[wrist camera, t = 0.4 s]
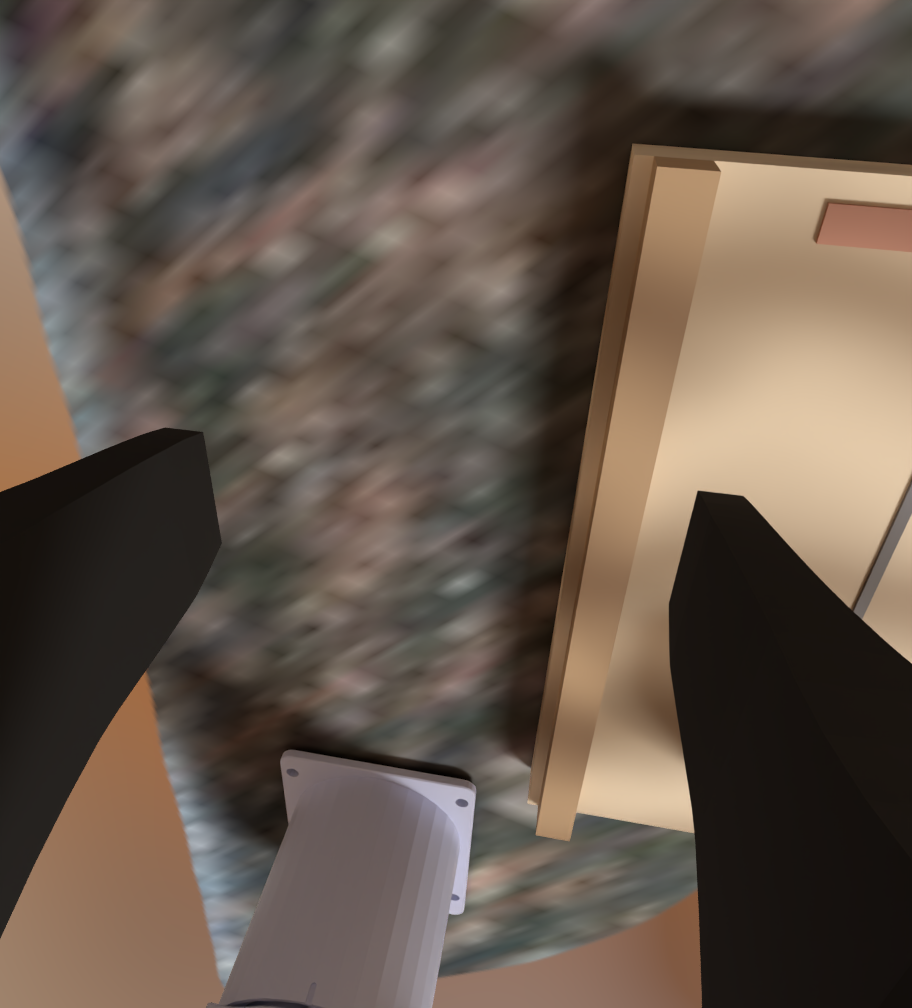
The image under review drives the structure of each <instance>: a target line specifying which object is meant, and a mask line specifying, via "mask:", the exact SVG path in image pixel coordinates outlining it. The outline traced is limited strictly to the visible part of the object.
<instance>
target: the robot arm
mask: <svg viewBox="0 0 912 1008" xmlns="http://www.w3.org/2000/svg"><path fill="white" fill-rule="evenodd" d="M221 544H222V542H221V536H220V530H219V524H218V518H217V512H216V506H215V500H214V494H213V488H212V482H211V476H210V470H209V464H208V458H207V453H206V447H205V441H204V435H203V432H197V431H189V430H180V429H172V428H162V429H159V430H155V431H152V432H149V433H146V434H143V435H140V436H137V437H135V438H132V439H129V440H127V441H124V442H122V443H119V444H117V445H114V446H112V447H109V448H107V449H104V450H102V451H100V452H97V453H95V454H93V455H90V456H88V457H85V458H83V459H81V460H78V461H76V462H74V463H71V464H69V465H66V466H64V467H62V468H59V469H57V470H54V471H52V472H50V473H47V474H45V475H43V476H40V477H38V478H36V479H33V480H30V481H28V482H25V483H23V484H20V485H17V486H15V487H12V488H10V489H7V490H4V491H2V492H0V938H1V936H2V933H3V931H4V929H5V927H6V925H7V923H8V920H9V918H10V916H11V914H12V912H13V910H14V907H15V905H16V903H17V901H18V899H19V897H20V894H21V892H22V890H23V888H24V886H25V884H26V881H27V879H28V877H29V875H30V873H31V871H32V868H33V866H34V864H35V862H36V860H37V858H38V856H39V854H40V852H41V850H42V848H43V846H44V844H45V842H46V840H47V838H48V836H49V834H50V832H51V830H52V828H53V826H54V824H55V822H56V821H57V818H58V817H59V814H60V813H61V811H62V809H63V807H64V805H65V802H66V801H67V798H68V797H69V795H70V793H71V791H72V789H73V788H74V786H75V784H76V782H77V780H78V778H79V776H80V775H81V773H82V771H83V769H84V767H85V765H86V764H87V762H88V760H89V758H90V756H91V754H92V752H93V751H94V749H95V747H96V745H97V743H98V742H99V740H100V738H101V737H102V735H103V733H104V732H105V730H106V729H107V727H108V725H109V724H110V722H111V721H112V719H113V717H114V716H115V714H116V713H117V711H118V710H119V708H120V707H121V705H122V704H123V702H124V701H125V700H126V698H127V697H128V695H129V694H130V692H131V691H132V690H133V688H134V687H135V685H136V684H137V682H138V681H139V679H140V678H141V677H142V675H143V674H144V672H145V671H146V669H147V668H148V666H149V665H150V664H151V662H152V661H153V659H154V658H155V656H156V655H157V653H158V652H159V651H160V649H161V648H162V646H163V645H164V643H165V642H166V640H167V639H168V638H169V636H170V635H171V633H172V632H173V630H174V629H175V627H176V626H177V624H178V623H179V621H180V620H181V618H182V617H183V615H184V614H185V612H186V611H187V610H188V608H189V606H190V605H191V603H192V602H193V600H194V599H195V597H196V596H197V594H198V592H199V590H200V588H201V586H202V584H203V582H204V580H205V578H206V576H207V574H208V572H209V570H210V568H211V565H212V563H213V561H214V559H215V557H216V554H217V552H218V550H219V548H220V546H221ZM669 657H670V671H671V678H672V685H673V691H674V698H675V705H676V711H677V718H678V724H679V730H680V737H681V743H682V750H683V756H684V762H685V769H686V775H687V781H688V788H689V794H690V800H691V807H692V815H693V824H694V833H695V844H696V863H697V883H698V901H699V902H698V903H699V927H700V955H701V984H702V1008H912V663H911V662H909V661H908V660H907V659H906V658H905V657H903V656H902V655H901V654H900V653H899V652H898V651H896V650H895V649H894V648H893V647H892V646H891V645H889V644H888V643H887V642H886V641H885V640H884V639H883V638H882V637H880V636H879V635H878V634H877V633H876V632H875V631H874V630H873V629H872V628H871V627H870V626H869V625H867V624H866V623H865V622H864V621H863V620H862V619H861V618H860V617H859V616H858V615H857V614H855V613H854V612H853V611H852V610H851V609H850V608H849V607H848V606H847V605H846V604H845V603H844V602H843V601H842V600H841V599H840V598H839V597H838V596H837V595H836V594H835V593H834V592H833V591H832V590H831V589H830V588H829V587H828V586H827V585H826V584H825V583H824V582H823V581H822V580H821V579H820V578H819V577H818V576H817V575H816V574H815V573H814V572H813V571H812V570H811V569H810V568H809V566H808V565H807V564H806V563H805V562H804V561H803V560H802V559H801V558H800V557H799V556H798V555H797V554H796V553H795V551H794V550H793V549H792V548H791V547H790V546H789V545H788V544H787V543H786V542H785V540H784V539H783V538H782V537H781V536H780V535H779V534H778V533H777V532H776V530H775V529H774V528H773V527H772V526H771V525H770V524H769V523H768V522H767V520H766V519H765V518H764V517H763V516H762V515H761V514H760V513H759V512H758V510H757V509H756V508H755V507H754V506H753V505H752V504H751V503H750V502H749V501H748V500H747V499H746V498H745V497H744V496H741V495H732V494H724V493H715V492H707V491H697V495H696V499H695V503H694V507H693V511H692V514H691V518H690V522H689V526H688V530H687V534H686V538H685V542H684V546H683V550H682V554H681V557H680V561H679V565H678V569H677V573H676V577H675V581H674V585H673V589H672V593H671V597H670V601H669ZM280 765H281V772H282V780H283V787H284V795H285V802H286V810H287V817H288V828H287V830H286V833H285V835H284V838H283V841H282V843H281V846H280V848H279V851H278V853H277V856H276V858H275V861H274V864H273V866H272V869H271V871H270V874H269V876H268V879H267V882H266V884H265V887H264V889H263V892H262V894H261V897H260V899H259V902H258V905H257V907H256V910H255V912H254V915H253V917H252V920H251V923H250V925H249V928H248V930H247V933H246V935H245V938H244V940H243V943H242V946H241V948H240V951H239V953H238V956H237V958H236V961H235V964H234V966H233V969H232V971H231V974H230V976H229V979H228V981H227V984H226V987H225V989H224V992H223V994H222V997H221V999H220V1002H219V1004H216V1003H208V1004H207V1006H206V1008H432V1005H433V999H434V994H435V988H436V982H437V977H438V971H439V965H440V960H441V954H442V948H443V943H444V937H445V931H446V926H447V920H448V914H454V915H457V914H461V913H462V912H463V911H464V906H465V898H466V888H467V878H468V868H469V858H470V848H471V838H472V828H473V818H474V808H475V798H476V787H475V785H474V784H473V783H471V782H470V781H467V780H464V779H458V778H452V777H446V776H441V775H435V774H429V773H424V772H418V771H412V770H406V769H401V768H395V767H389V766H384V765H378V764H372V763H366V762H361V761H355V760H349V759H344V758H338V757H332V756H327V755H321V754H315V753H309V752H304V751H298V750H287V751H285V752H284V753H283V755H282V757H281V760H280Z"/></svg>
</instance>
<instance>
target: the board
mask: <svg viewBox="0 0 912 1008" xmlns="http://www.w3.org/2000/svg"><path fill="white" fill-rule="evenodd" d="M697 491H707V492H715V493H724V494H732V495H741V496H744V497H745V498H746V499H747V500H748V501H749V502H750V503H751V504H752V505H753V506H754V507H755V508H756V509H757V510H758V512H759V513H760V514H761V515H762V516H763V517H764V518H765V519H766V520H767V522H768V523H769V524H770V525H771V526H772V527H773V528H774V529H775V530H776V532H777V533H778V534H779V535H780V536H781V537H782V538H783V539H784V540H785V542H786V543H787V544H788V545H789V546H790V547H791V548H792V549H793V550H794V551H795V553H796V554H797V555H798V556H799V557H800V558H801V559H802V560H803V561H804V562H805V563H806V564H807V565H808V566H809V568H810V569H811V570H812V571H813V572H814V573H815V574H816V575H817V576H818V577H819V578H820V579H821V580H822V581H823V582H824V583H825V584H826V585H827V586H828V587H829V588H830V589H831V590H832V591H833V592H834V593H835V594H836V595H837V596H838V597H839V598H840V599H841V600H842V601H843V602H844V603H845V604H846V605H847V606H848V607H849V608H850V609H851V610H852V611H853V612H854V613H855V614H857V615H858V616H859V617H860V618H861V619H862V620H863V621H864V622H865V623H866V624H867V625H869V626H870V627H871V628H872V629H873V630H874V631H875V632H876V633H877V634H878V635H879V636H880V637H882V638H883V639H884V640H885V641H886V642H887V643H888V644H889V645H891V646H892V647H893V648H894V649H895V650H896V651H898V652H899V653H900V654H901V655H902V656H903V657H905V658H906V659H907V660H908V661H909V662H911V663H912V165H907V164H894V163H881V162H868V161H855V160H842V159H829V158H816V157H803V156H790V155H777V154H763V153H750V152H737V151H724V150H711V149H698V148H685V147H672V146H659V145H646V144H633V143H632V149H631V155H630V161H629V168H628V174H627V180H626V186H625V192H624V198H623V205H622V211H621V217H620V223H619V229H618V235H617V242H616V248H615V254H614V260H613V266H612V273H611V279H610V285H609V291H608V297H607V303H606V310H605V316H604V322H603V328H602V334H601V340H600V347H599V353H598V359H597V365H596V371H595V377H594V384H593V390H592V396H591V402H590V408H589V414H588V421H587V427H586V433H585V439H584V445H583V451H582V458H581V464H580V470H579V476H578V482H577V488H576V495H575V501H574V507H573V513H572V519H571V525H570V532H569V538H568V544H567V550H566V556H565V563H564V569H563V575H562V581H561V587H560V593H559V600H558V606H557V612H556V618H555V624H554V630H553V637H552V643H551V649H550V655H549V661H548V667H547V674H546V680H545V686H544V692H543V698H542V704H541V711H540V717H539V723H538V729H537V735H536V741H535V748H534V754H533V760H532V766H531V774H530V784H529V794H528V803H527V804H533V805H538V815H537V826H536V835H538V836H544V837H549V838H555V839H560V840H566V841H570V837H571V833H572V828H573V824H574V819H575V815H576V812H578V813H584V814H589V815H595V816H601V817H606V818H612V819H618V820H623V821H629V822H635V823H640V824H646V825H651V826H657V827H663V828H668V829H674V830H680V831H685V832H691V833H694V824H693V815H692V807H691V800H690V794H689V788H688V781H687V775H686V769H685V762H684V756H683V750H682V743H681V737H680V730H679V724H678V718H677V711H676V705H675V698H674V691H673V685H672V678H671V671H670V657H669V601H670V597H671V593H672V589H673V585H674V581H675V577H676V573H677V569H678V565H679V561H680V557H681V554H682V550H683V546H684V542H685V538H686V534H687V530H688V526H689V522H690V518H691V514H692V511H693V507H694V503H695V499H696V495H697Z"/></svg>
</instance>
